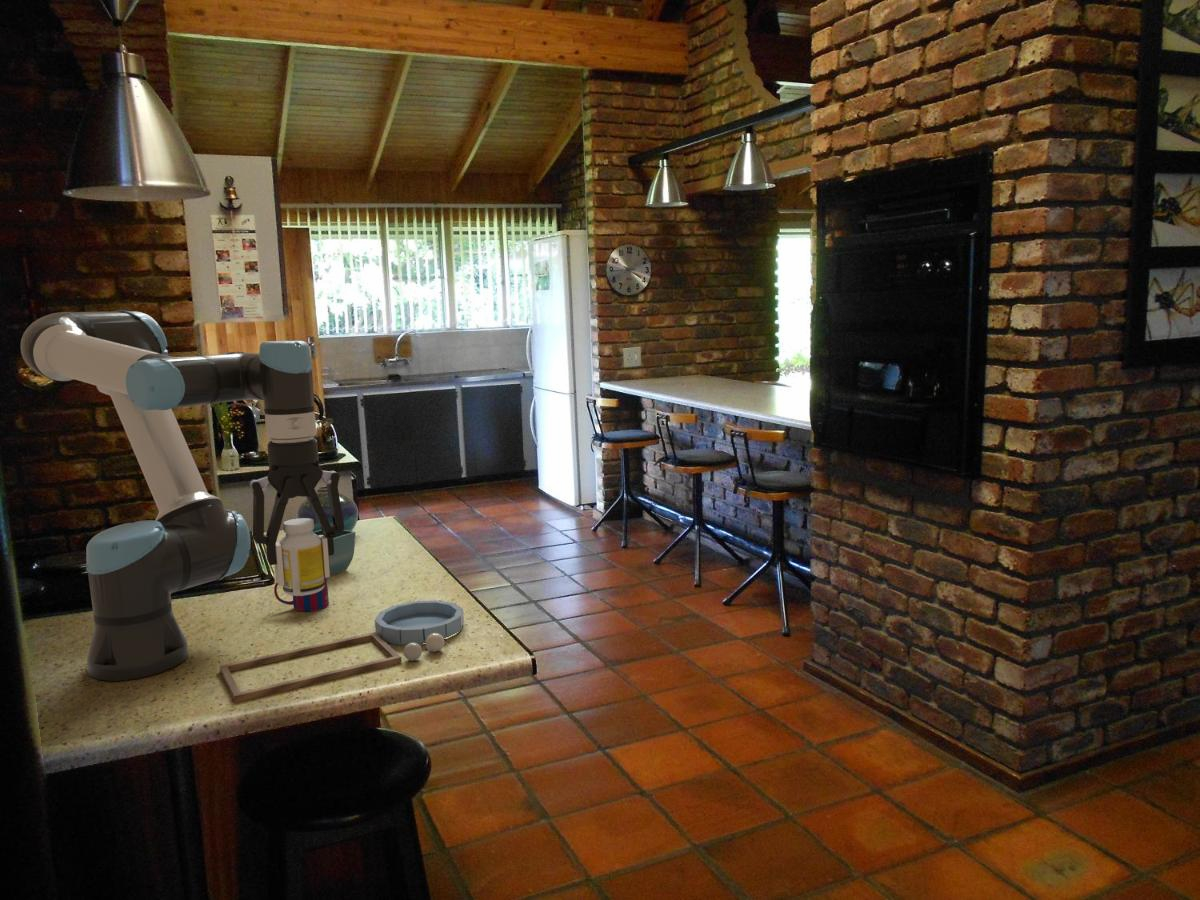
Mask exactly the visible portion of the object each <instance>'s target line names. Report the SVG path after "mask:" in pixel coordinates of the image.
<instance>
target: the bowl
mask: <svg viewBox="0 0 1200 900" xmlns="http://www.w3.org/2000/svg"><path fill="white" fill-rule="evenodd" d="M464 618H465V617H464V609H463V608H462V607H461V606H459V604H457V603H455V602H451V601H450V602H449V601H445V600H439V599H438V600H434V599H433V600H416V601H415V600H413V601H409V602H404V603H399V604H396V605H392V606H390V607H388V608H385V609H383V610H381V611H379V612H378V614H377V615H376V617H375V619H374V629H375V632H376V633H377V634H378V635H379V636H380V637H381V638H382V639H383V640H384V641H385V642H386V643H387V644H389V643H390V645H394V644H395V645H396V646H404V645H407V644H409V643H412V642H414V643H417V644H423V643H426V639H427V637H428V636H429V635H430V634H432V633H439V634H441V635H442V636H443V638H446V637H449V636H451V635H453V634H455V633H457V632H459V631H460V630H461V629H462V626H463V627H464V623H465V619H464ZM462 630H463V629H462ZM462 630H461V631H462ZM461 631H460V632H461ZM460 632H459V633H460ZM395 645H394V646H395Z"/></svg>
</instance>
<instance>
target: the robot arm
mask: <svg viewBox="0 0 1200 900" xmlns="http://www.w3.org/2000/svg"><path fill="white" fill-rule="evenodd" d="M168 346H169V345H168V342H167V338H166V336H165V333H164V331H163V330H162V327H161V326H160V325H159V323H158V321H156V320H155V319H154V318H153V317H152V316H150V315H149V314H147V313H143V312H141V311H129V310H125V309H119V310H114V311H75V312H74V311H72V312H71V311H62V312H54V313H50V314H47V315H44V316H42V317H39V318H38V319H35V320H34V321H33V322H32V323H31V324H30V325H28V327H27V328H26V329H25V331H24V332H23V334H22V337H21V340H20V354H21V356H22V359H23V361H24V362H25V364H26V365H27V366H28V368H30V370H32V371H33V372H35V373H36V374H37V375H40V376H43V377H44V378H46V379H51V380H54V381H59V382H69V381H73V380H76V381H78V382H83V383H87V384H89V385H92V386H96V389H97V390H98V392H100V393H102V394H104V395H107V396H110V398H111V400H112V404H113V405H114V407H115V410H116V413H117V415H118V418H119V420H120V423H121V424H122V426H123V429H124V432H125V434H126V436H127V439H128V440H129V443H130V446H131V448H132V450H133V453H134V456H135V457H136V459H137V462H138V464H139V467H140V469H141V471H142V474H143V476H144V479H145V481H146V483H147V486H148V489H149V490H150V493H151V495H152V496H151V497H153V501H154V502H155V505H156V507H157V509H158V514H157V516H156V518H155V520H154V519H153V520H152V519H148V520H147V519H146V520H138V521H134V522H126V523H122V524H118V525H116V526H113V527H109V528H107V529H105V530H102V531H101V532H98V533H97V534H95V535H94V536H93V537H91V539H90V540H89V541H88V543H87V544H86V548H85V549H86V552H85V555H86V557H85V559H86V560H85V561H86V564H85V568H86V572H87V577H88V583H89V591H90V599H91V605H92V612H93V613H92V614H93V620H94V621H93V622H94V629H93V633H92V637H91V641H90V645H89V649H88V653H87V659H86V664H87V665H86V666H87V672H88V673H87V674H88V676H90V677H91V678H93V679H96V680H101V681H108V682H109V681H128V680H135V679H141V678H145V677H150V676H153V675H157V674H160V673H163V672H166V671H168V670H170V669H173V668H175V667H177V666H179V665H180V664H182V663H183V662H184V661H185V660H187V659H188V656H189V648H188V641H187V639H186V637H185V634H184V633H183V630H182V629H181V627H180V624H179V622H178V621H177V619H176V617H175V615H174V612H173V605H172V597H171V595H172V594H173V593H176V592H180V591H183V590H187V589H190V588H193V587H197V586H201V585H203V584H206V583H210V582H213V581H220V580H222V579H224V578H226V577H228V576H231V575H234V574H236V573H238V572H240V571H241V570H242V569H244V567H245V565H246V564H247V561H248V560H249V557H250V551H251V532H250V529H249V527H248V524H247V521H246V520H245V518H244V516H243V515H242V514H240V513H239V512H238V511H236V510H234V509H233V510H231V509H225V506H224V504H223V501H222V499H221V498H220V497H218V496H215V495H213V494H210V493H209V492H208V489H207V488H206V485H205V483H204V481H203V478H202V475H201V474H200V471H199V469H198V466H197V464H196V462H195V459H194V458H193V455H192V453H191V451H190V448H189V446H188V444H187V441H186V439H185V436H184V435H183V432H182V430H181V427H180V425H179V423H178V420H177V418H176V416H175V414H174V411H173V409H177V408H184V407H192V406H200V405H209V404H219V403H220V404H221V403H228V402H236V401H244V400H258V401H263V406H264V408H263V410H264V411H263V412H264V419H265V420H264V421H265V434H266V438H268V440H269V441H268V442H267V444H266V445H267V458H268V459H267V460H268V471H267V472H266V473H267V474H266V476H264V477H261V478H258V479H251V480H249V483H248V484H249V486H250V489H251V493H252V495H253V496H252V497H253V500H252V504H253V505H252V538H253V540H254V541H255V542H256V543H257V544H258V545H260V544H262V545H265V548H266V549H265V550H266V559H267V562H268V564H269V565H270V566H274V573H275V576H274V577H275V583H276V582H277V583H278V586H283V585H284V573H283V561H282V549H281V545H280V544H279V543H280V542H279V541H277V540H278V537H279V533H280V530H281V526H282V521H283V518H284V514H285V510H286V507H287V505H288V502H289V499H293V498H297V497H302V498H303V497H306V499H308V501H309V503H310V505H311V508H312V510H313V512H314V514H315V516H316V518H317V521H318V523H319V525H320V527H321V529H322V532H323V535H318V536H319V537H320V539H321V545H322V558H323V570H324V577H325V578H326V577H327V578H330V577H331V576H330V571H329V557H328V556H330V555H333V554H334V541H333V537H334V536H335V534H336V533H338V532H341V531H343V530H344V522H343V516H342V510H341V504H340V498H339V492H340V491H339V482H340V474H339V472H336V471H335V470H329V471H328V470H323V469H322V468H321V465H320V462H319V461H320V460H319V458H320V457H319V448H318V440H317V439H316V438H314V437H315V436H316V435H317V434H318V433H317V423H316V411H315V391H314V380H313V379H314V377H313V369H314V365H313V363H312V358H311V350H310V346H309V344H308V342H306V341H304V340H275V341H274V340H269V341H263V342H262V343H260V345H259V352H258V353H257V352H244V351H233V352H232V351H229V352H225V353H221V354H209V355H197V356H171V355H169V350H168V349H167V347H168ZM321 479H323V482H324V484H326V486H327V492H328V498H329V504H330V510H331V516H332V522H333V524H332V525H330V523H329V521H328V519H327V517H326V514H325V512H324V510H323V508H322V506H321V503H320V501H319V499H318V496H317V493H316V492H317V490H316V487H317V485H318V484H319V482H320V480H321ZM269 484H270V485H271V486H272V487H273V489H275V491H276V494H275V498H274V505H273V507H272V512H271V516H270V518H269V519H270V520H269V523H268V526H267V531H266V534H265V493H266V492H267V490H268V485H269Z"/></svg>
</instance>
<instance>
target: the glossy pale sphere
mask: <svg viewBox="0 0 1200 900" xmlns="http://www.w3.org/2000/svg"><path fill="white" fill-rule="evenodd" d="M421 646H422V645H419V644H417V643H414V642H412V643H409V644H407V645H406V646H404V648H403V655H404V658H405V660H407V661H410V662H411V661H412V662H413V661H414V660H415V661H417V660H420V658H421V656H422V654H423V649H422V647H421Z"/></svg>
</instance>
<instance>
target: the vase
mask: <svg viewBox="0 0 1200 900" xmlns="http://www.w3.org/2000/svg"><path fill="white" fill-rule="evenodd" d="M316 489H317V490H316V493H317V496H318V499H319V501H320V503H321V506H322V508H323V510H324V512H325V514H326V517H327V519H328V521H329V523H330V525H332V524H333V522H332V516H331V510H330V504H329V498H328V492H327V485H324V486H319V487H317V488H316ZM338 492H339V498H340V504H341V510H342V516H343V522H344V530H348V531H354V528H355V527H356V525H357V523H358V518H359V509H358V506H357V504H356V502H355V501H354V500H353V499H352V498H351V497H350V496H348V495H346V494H345V493H342V492H340V491H338ZM298 518H309V519H313V520H314V529H313V532H316V531H319V530H322V529H321V527H320V525H319V523H318V521H317V518H316V516H315V514H314V512H313V510H312V508H311V505H310V503H309V501H308V499H307V498H305V499H304V500H302V501H301V503H300V504H299V506H298V507H297V511H296V518H295V519H298Z"/></svg>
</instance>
